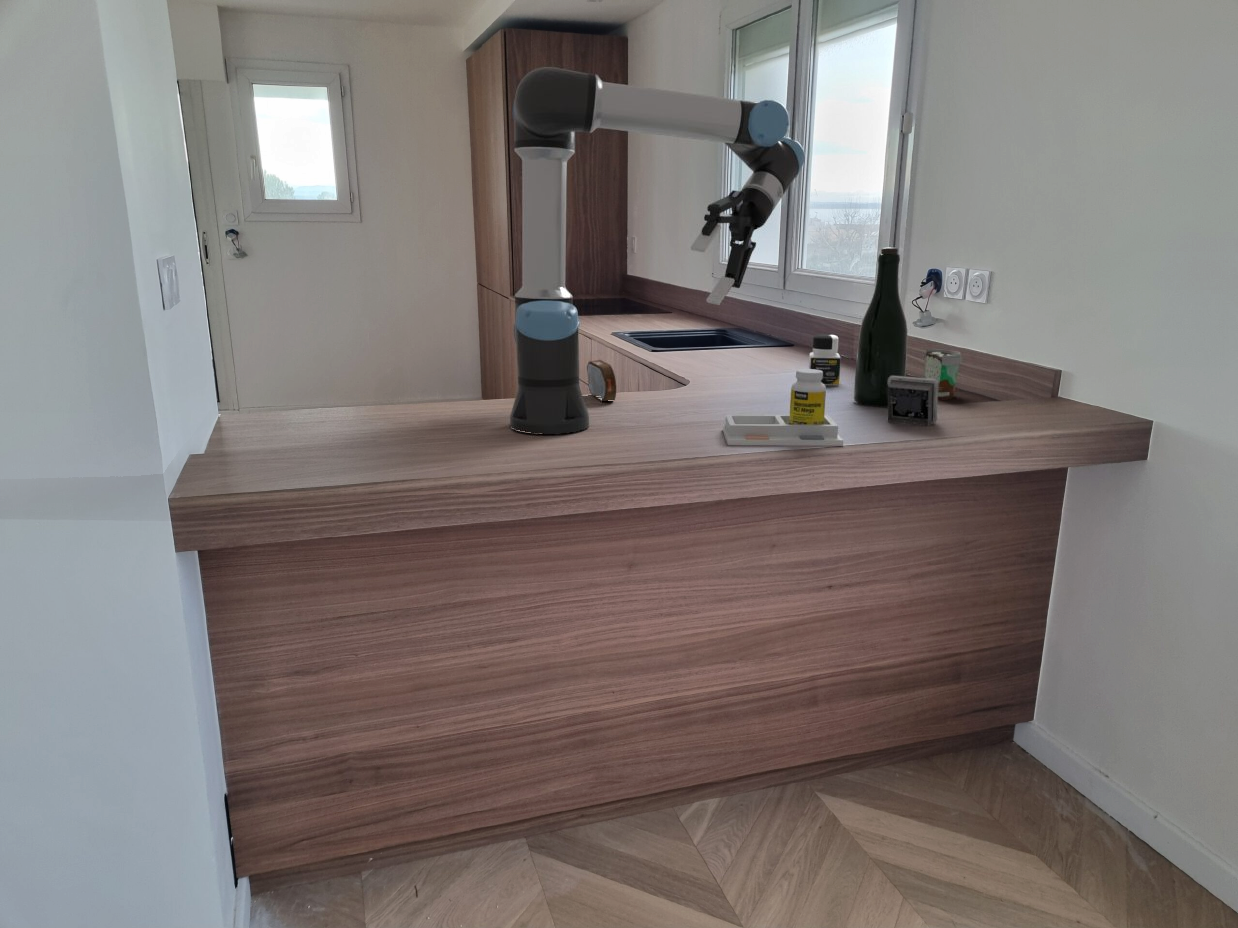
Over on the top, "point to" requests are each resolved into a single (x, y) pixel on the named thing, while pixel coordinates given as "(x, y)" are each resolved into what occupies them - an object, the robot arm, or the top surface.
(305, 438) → the top surface
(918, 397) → the electrical switch
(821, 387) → the pill bottle
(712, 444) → the top surface
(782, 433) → the socket board
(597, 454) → the top surface
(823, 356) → the medicine bottle
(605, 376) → the tin
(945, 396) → the food container
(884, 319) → the dark green wine bottle
